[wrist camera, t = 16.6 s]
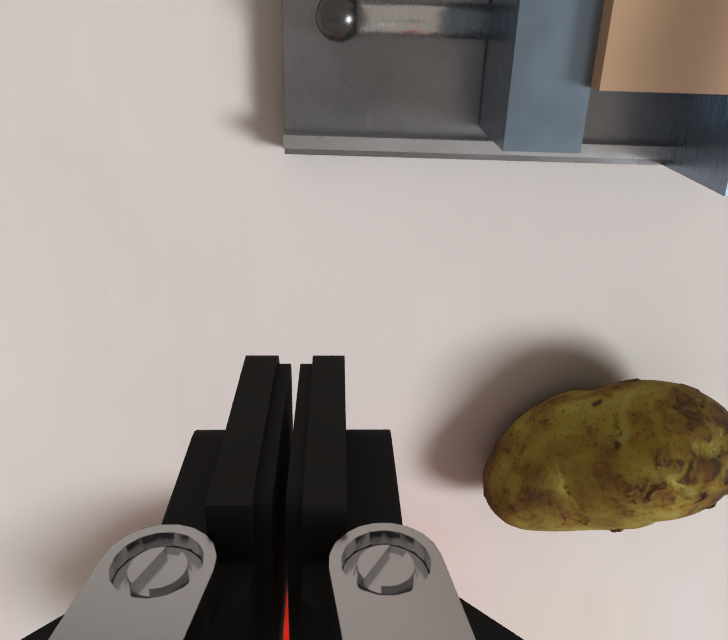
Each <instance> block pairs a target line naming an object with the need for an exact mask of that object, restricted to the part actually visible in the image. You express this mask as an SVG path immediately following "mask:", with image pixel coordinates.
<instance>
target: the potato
mask: <svg viewBox="0 0 728 640" xmlns="http://www.w3.org/2000/svg"><path fill="white" fill-rule="evenodd" d="M483 488H484V497H485V498H486V500H487V503H488V505H489V506H490V508H491V509H492V510H493V512H494V513H495V514H496V515H497V516H498V517H499V518H500V519H502V520H503V521H504V522H506V523H507V524H509V525H511V526H514V527H517V528H520V529H525V530H535V531H576V530H610V531H611V532H621V531H623V529H635V528H641V527H644V526H648V525H650V524H652V523H654V522H658V521H667V520H674V519H679V518H682V517H686V516H689V515H693V514H695V513H698V512H700V511H702V510H704V509H710V508H713V507H715V505H716V502H717V501H719V500H720V499H721V498H722V497H723V496H724V495H727V494H728V411H727V410H726V409H725V408H724V407H723V406H721V405H720V404H719V403H718V402H716V401H715V400H713V399H712V398H710V397H708V396H707V395H705V394H703V393H701V392H700V391H699V390H698V389H696V388H693V387H690V386H687V385H684V384H677V383H672V382H665V381H656V380H640V379H637V378H636V379H631V380H626V381H620V382H617V383H615V384H611V385H607V386H604V387H601V388H599V389H596V390H573V391H568V392H564V393H561V394H558V395H555V396H553V397H551V398H549V399H547V400H545V401H543V402H542V403H540V404H538V405H536V406H534V407H533V408H531V409H529V410H528V411H527V412H526V413H524V414H523V415H522V416H520V417H519V418H518V419H517V420H516V421H514V422H513V423H512V424H511V425H510V427H509V428H508V429H507V430H506V431H505V433H504V434H503V435H502V437H501V438H500V439H499V441H498V443H497V445H496V446H495V448H494V450H493V452H492V453H491V455H490V457H489V459H488V461H487V463H486V465H485V468H484V471H483Z"/></svg>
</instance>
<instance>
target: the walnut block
mask: <svg viewBox="0 0 728 640" xmlns="http://www.w3.org/2000/svg"><path fill="white" fill-rule="evenodd" d="M591 88H593V89H596V90H599V91H627V92H658V93H689V94H720V95H728V0H604V7H603V13H602V19H601V26H600V32H599V38H598V45H597V51H596V57H595V64H594V70H593V76H592V83H591Z"/></svg>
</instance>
